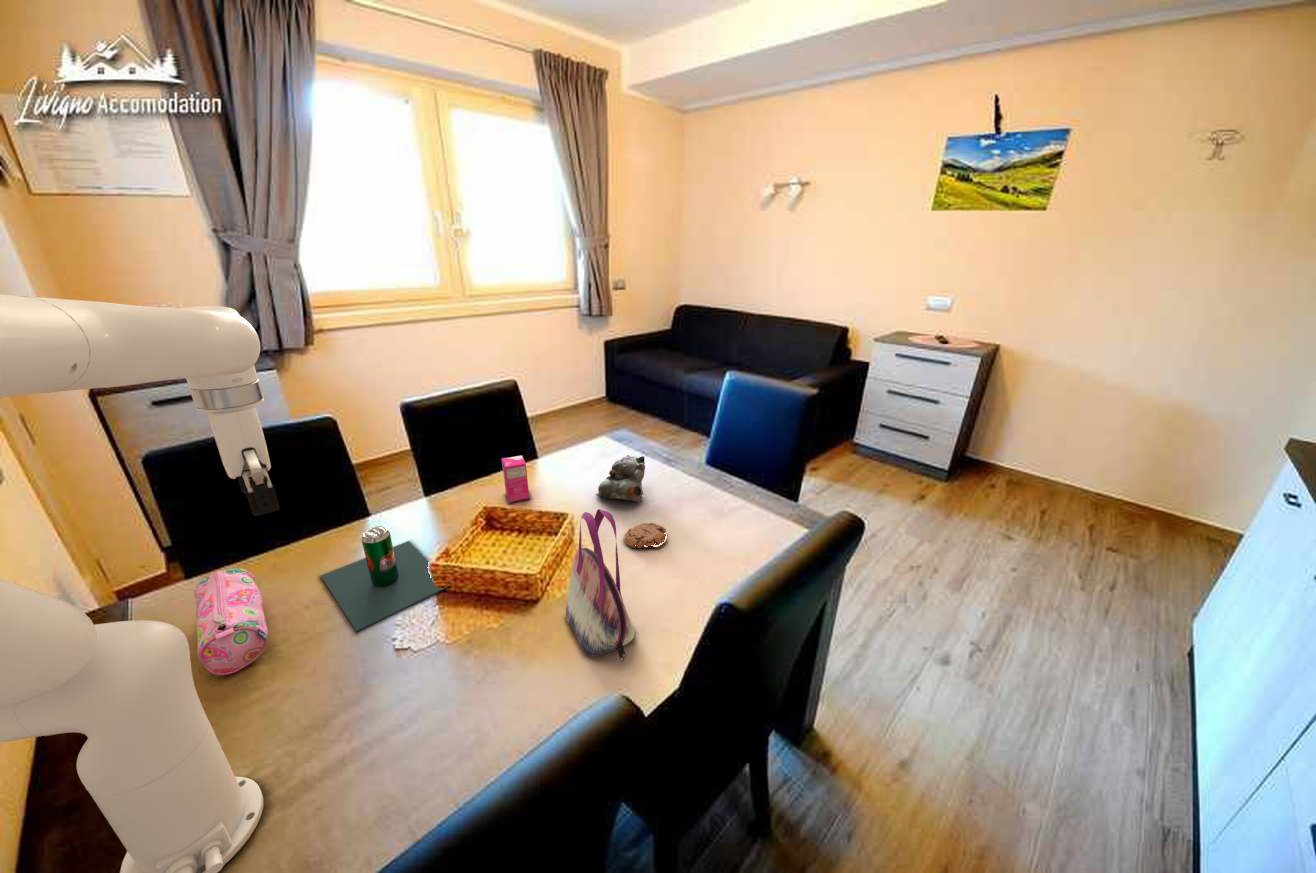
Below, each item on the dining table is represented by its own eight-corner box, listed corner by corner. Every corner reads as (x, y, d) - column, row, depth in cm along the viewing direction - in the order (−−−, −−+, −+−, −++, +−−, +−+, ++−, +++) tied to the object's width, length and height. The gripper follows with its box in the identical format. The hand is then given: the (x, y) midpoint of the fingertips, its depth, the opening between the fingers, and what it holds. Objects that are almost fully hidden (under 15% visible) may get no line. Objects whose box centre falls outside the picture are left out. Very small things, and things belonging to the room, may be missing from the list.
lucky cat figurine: (588, 494, 138) (598, 446, 139) (623, 500, 145) (633, 455, 146) (613, 502, 126) (625, 450, 127) (650, 508, 132) (661, 459, 134)
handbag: (650, 658, 85) (654, 539, 75) (598, 681, 80) (595, 557, 70) (601, 586, 102) (600, 482, 92) (556, 601, 97) (549, 493, 87)
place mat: (452, 586, 100) (451, 584, 100) (356, 632, 88) (356, 630, 88) (408, 542, 114) (408, 540, 114) (321, 577, 102) (320, 575, 102)
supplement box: (505, 494, 137) (501, 457, 132) (526, 490, 139) (523, 454, 135) (508, 504, 132) (504, 466, 127) (530, 500, 134) (527, 463, 130)
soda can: (387, 589, 98) (376, 540, 94) (366, 586, 99) (354, 537, 94) (404, 574, 103) (394, 526, 98) (383, 570, 104) (373, 523, 99)
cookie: (617, 537, 119) (617, 527, 118) (651, 524, 125) (651, 514, 124) (640, 557, 111) (640, 546, 110) (675, 542, 117) (676, 532, 116)
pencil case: (275, 659, 82) (261, 618, 79) (204, 689, 76) (185, 646, 73) (263, 593, 97) (250, 556, 93) (203, 614, 91) (187, 575, 88)
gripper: (187, 388, 72) (221, 490, 78) (200, 415, 61) (238, 531, 67) (251, 380, 77) (278, 476, 83) (273, 403, 66) (303, 513, 72)
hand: (260, 501), depth 75 cm, fingers open, 9 cm apart
